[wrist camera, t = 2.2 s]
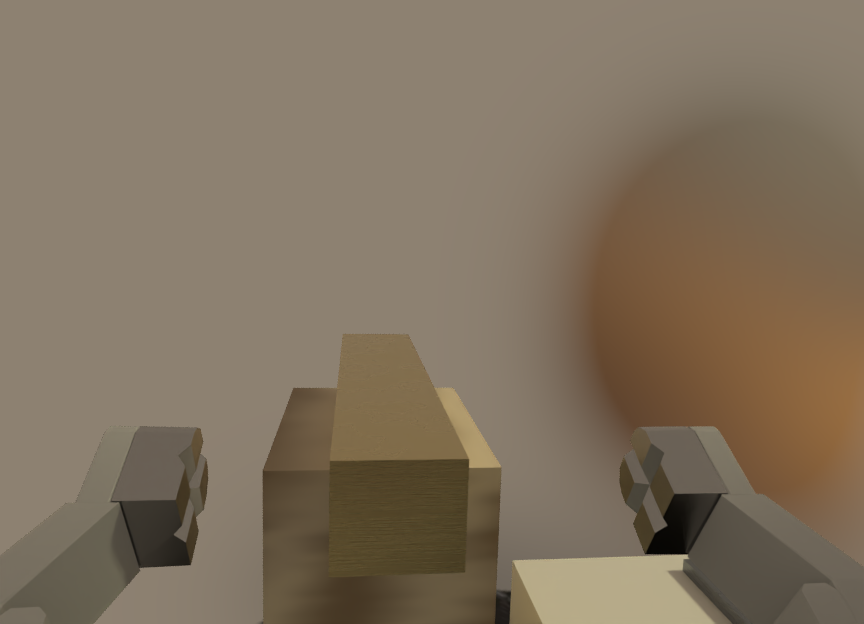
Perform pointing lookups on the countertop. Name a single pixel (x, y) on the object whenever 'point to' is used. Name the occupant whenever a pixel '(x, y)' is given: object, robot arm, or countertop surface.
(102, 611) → the robot arm
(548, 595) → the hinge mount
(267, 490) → the birch stand
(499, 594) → the countertop surface
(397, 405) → the tan wooden bar
